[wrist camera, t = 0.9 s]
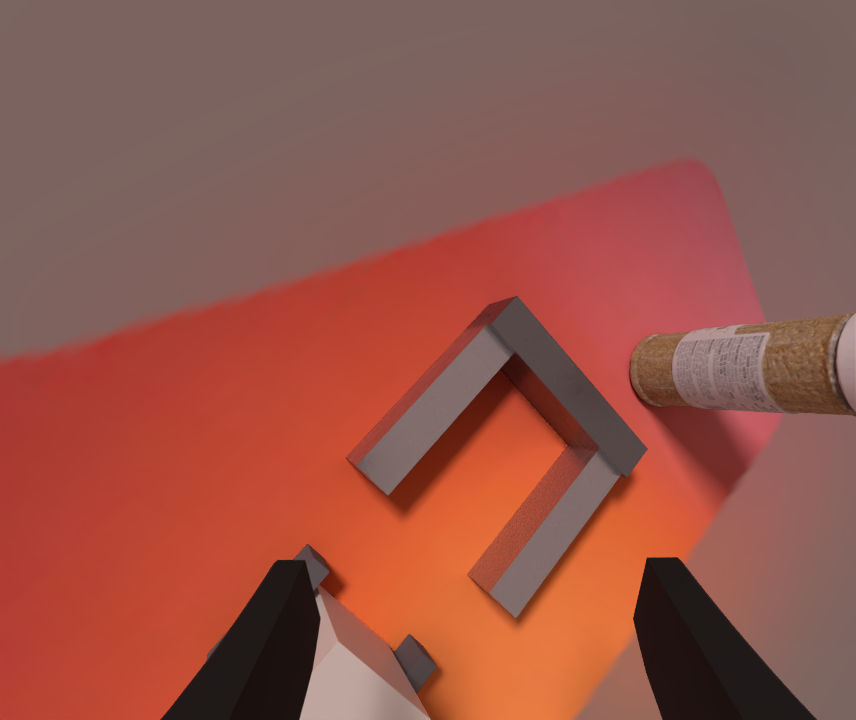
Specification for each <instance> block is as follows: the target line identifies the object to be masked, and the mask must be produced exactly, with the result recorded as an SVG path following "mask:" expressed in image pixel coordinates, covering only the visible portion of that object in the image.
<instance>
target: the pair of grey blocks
mask: <svg viewBox="0 0 856 720" xmlns="http://www.w3.org/2000/svg"><path fill="white" fill-rule="evenodd" d="M293 560H305V561H306V565H307V569H308V572H309V576H310V580H311V584H312V587H313V591H314V590H315V589H316V587H317V586H318V585H319V584H320V583H321V582H322V581H323V579H324V578H325V577H326V576H327V575H328V574H329V573H330V571H329V569H328V567H327V565H326V563H325V561H324V559H323V557H322V556H321V555H320V554H319V553H317V552H316V551H315V550H314V549H313V548H312V547H311V546H310V545H308V544H307V545H306V546H305V547H304V548H303V550H302V551H301V552H300V553H299V554H298V555H297V556H296V557H295V558H294V559H293ZM226 634H227V633H226ZM226 634H225V635H226ZM225 635H224V637H225ZM224 637H223V638H224ZM223 638H222V639H223ZM222 639H221V640H220V641H219V642H218V643H217V644H216V645H215V646H214V648H213V649H212V650H211V651H210V652H209V653H208V655H207V660H208V659H209V657H210V656H211V655H212V653H213V652H214V650H215V649H216V648H217V646H218V645H219V643H220V642H221V641H222ZM393 654H394V656H395V657H396V659H397V661H398V663H399V664H400V666H401V668H402V670H403V671H404V673H405V675H406V677H407V679H408V680H409V682H410V684H411V686H412V687H413V689H414V691H415V693H416V694H417V692H418V691H419V690H420V688H421V687H422V686H423V684H424V683H425V682H426V680H427V679H428V678H429V676H430V675H431V674H432V673H433V671H434V670H435V669H436V667H437V666H436V664H435V663H434V661H433V660H432V659H431V657H430V656H429V654H428V653H427V651H426V650H425V649H424V647H423V646H422V645H421V644H420V643H419V642H418V641H417V640H415V639H414V638H413V637H412V636H411V635H410V634H409V635H408V636H407V637H406V638H405V640H404V641H403V642H402V643H401V645H400V646H399V647H398V648H397V650H396V651H395V652H394V653H393Z"/></svg>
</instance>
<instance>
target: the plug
mask: <svg viewBox="0 0 856 720" xmlns="http://www.w3.org/2000/svg"><path fill="white" fill-rule="evenodd" d="M314 595H315V599H316V602H317V606H318V610H319V613H320V617H321V621H320V627H319V634H318V640H317V647H316V653H315V659H314V665H313V670H312V674H311V678H310V682H309V686H308V690H307V693H306V697H305V701H304V705H303V708H302V712H301V716H300V720H431V719H430V717H429V715H428V714H427V712H426V710H425V708H424V707H423V705H422V703H421V701H420V700H419V698H418V696H417V694H416V693H415V691H414V689H413V687H412V686H411V684H410V682H409V680H408V679H407V677H406V675H405V673H404V671H403V670H402V668H401V666H400V664H399V663H398V661H397V659H396V657H395V656H394V654H393V652H392V650H391V649H390V647H389V645H388V644H387V643H386V642H385V641H384V640H382V639H381V638H380V637H379V636H378V635H377V634H375V633H374V632H373V631H372V630H371V629H370V628H369V627H367V626H366V625H365V624H364V623H363V622H362V621H361V620H359V619H358V618H357V617H356V616H355V615H354V614H352V613H351V612H350V611H349V610H348V609H347V608H346V607H344V606H343V605H342V604H341V603H340V602H339V601H337V600H336V599H335V598H334V597H333V596H332V595H331V594H329V593H328V592H327V591H326V590H325V589H324V588H323V587H321V586H320V585H318V586H317V587H316V589H315V590H314Z"/></svg>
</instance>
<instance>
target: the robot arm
mask: <svg viewBox="0 0 856 720" xmlns="http://www.w3.org/2000/svg"><path fill="white" fill-rule="evenodd" d="M633 620H634V624H635V629H636V633H637V637H638V641H639V646H640V650H641V654H642V657H643V661H644V666H645V670H646V673H647V676H648V679H649V682H650V685H651V688H652V690H653V693H654V696H655V699H656V702H657V705H658V708H659V710H660V713H661V716H662V719H663V720H817V719H816V718H815V717H814V716H813V715H812V714H811V713H810V712H809V711H808V710H807V709H806V707H805V706H804V705H803V704H802V703H801V702H800V701H799V700H798V699H797V698H796V697H795V696H794V695H793V694H792V693H791V691H790V690H789V689H788V688H787V687H786V686H785V685H784V684H783V683H782V681H781V680H780V679H779V678H778V677H777V676H776V675H775V674H774V673H773V671H772V670H771V669H770V668H769V667H768V666H767V665H766V663H765V662H764V661H763V660H762V659H761V658H760V657H759V655H758V654H757V653H756V652H755V651H754V650H753V648H752V647H751V646H750V645H749V644H748V643H747V642H746V640H745V639H744V638H743V637H742V636H741V634H740V633H739V632H738V631H737V630H736V629H735V627H734V626H733V625H732V624H731V623H730V621H729V620H728V619H727V618H726V616H724V614H723V613H722V612H721V610H720V609H719V608H718V607H717V605H716V604H715V603H714V602H713V600H712V599H711V598H710V597H709V595H708V594H707V593H706V592H705V590H704V589H703V588H702V587H701V585H700V584H699V583H698V582H697V580H696V579H695V578H694V576H693V575H692V574H691V573H690V571H689V570H688V569H687V568H686V566H685V565H684V564H683V562H682V561H681V560H680V559H679V558H677V557H672V558H647V560H646V564H645V569H644V573H643V578H642V582H641V586H640V591H639V595H638V600H637V604H636V608H635V613H634V617H633ZM320 621H321V617H320V613H319V610H318V606H317V602H316V599H315V595H314V591H313V587H312V584H311V580H310V576H309V572H308V569H307V565H306V561H305V560H277V561H276V562H275V563H274V564H273V566H272V567H271V569H270V570H269V572H268V573H267V575H266V576H265V578H264V580H263V581H262V583H261V584H260V586H259V587H258V589H257V590H256V592H255V593H254V595H253V596H252V598H251V599H250V601H249V602H248V604H247V605H246V607H245V608H244V609H243V611H242V612H241V614H240V615H239V617H238V618H237V620H236V621H235V623H234V624H233V625H232V627H231V628H230V630H229V631H228V632H227V634H226V635H225V637H224V638H223V639H222V641H221V642H220V643H219V645H218V646H217V648H216V649H215V650H214V652H213V653H212V655H211V656H210V657H209V659H208V660H207V661H206V663H205V664H204V665H203V667H202V668H201V669H200V671H199V672H198V673H197V674H196V676H195V677H194V678H193V680H192V681H191V682H190V683H189V685H188V686H187V687H186V688H185V690H184V691H183V692H182V694H181V695H180V696H179V697H178V699H177V700H176V701H175V702H174V704H173V705H172V706H171V708H170V709H169V710H168V711H167V713H166V714H165V715H164V716H163V717H162V719H161V720H300V716H301V712H302V708H303V705H304V701H305V697H306V693H307V690H308V686H309V682H310V678H311V674H312V670H313V665H314V659H315V653H316V647H317V640H318V634H319V627H320Z"/></svg>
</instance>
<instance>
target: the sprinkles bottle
mask: <svg viewBox="0 0 856 720" xmlns="http://www.w3.org/2000/svg"><path fill="white" fill-rule="evenodd" d="M630 378H631V382H632V386H633V388H634V389H635V391H636V393H637V394H638V395H639V397H640V398H641V399H643V400H644V401H645V402H646V403H648V404H649V405H653V406H657V407H668V406H670V405H673V406H674V405H675V406H694V407H697V408H701V409H718V410H736V411H755V412H773V413H789V414H797V413H816V414H836V415H853V416H856V312H855V313H851V314H847V315H839V316H831V317H820V318H811V319H803V320H793V321H783V322H773V323H760V324H753V325H747V324H746V325H735V326H726V327H717V328H708V329H700V330H695V331H692V332H684V333H675V334H653V335H649V336H648V337H646V338H644V339H643V340H642V341H641V342H640V343H639V344H638V345H637V347H636V348H635V350H634V352H633V354H632V356H631V365H630Z"/></svg>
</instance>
